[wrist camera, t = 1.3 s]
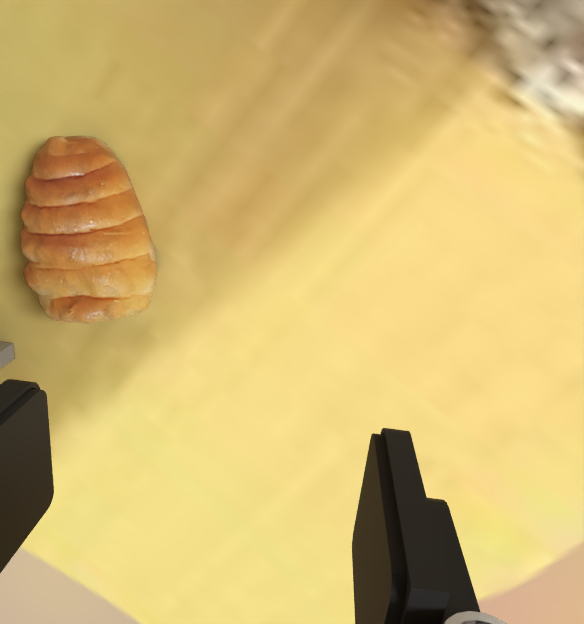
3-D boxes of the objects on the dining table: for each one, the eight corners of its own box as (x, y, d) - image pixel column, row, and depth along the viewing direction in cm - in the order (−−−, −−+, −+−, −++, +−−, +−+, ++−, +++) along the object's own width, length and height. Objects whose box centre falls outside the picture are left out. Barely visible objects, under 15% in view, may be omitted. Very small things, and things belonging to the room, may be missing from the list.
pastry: (20, 137, 27) (-28, 139, 23) (147, 132, 26) (118, 133, 23) (54, 308, 30) (17, 333, 26) (168, 306, 29) (146, 332, 26)
